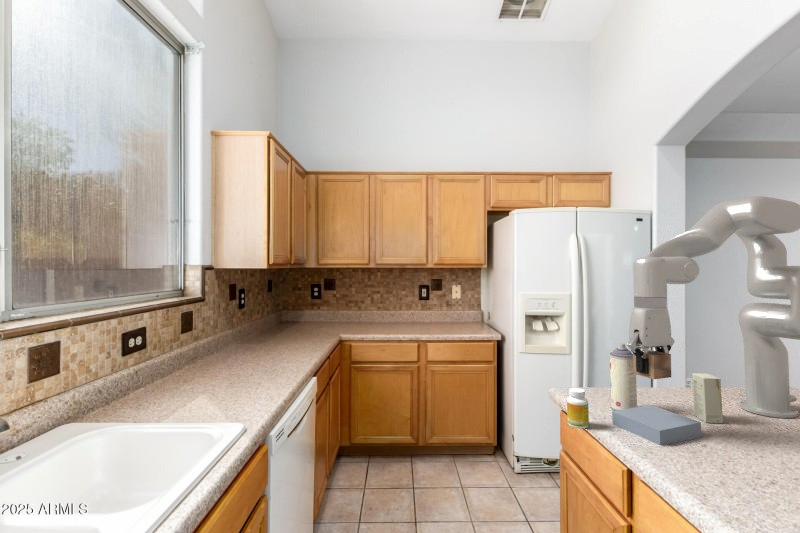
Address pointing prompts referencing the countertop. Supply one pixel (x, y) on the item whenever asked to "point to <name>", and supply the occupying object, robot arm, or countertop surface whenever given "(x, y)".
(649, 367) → the walnut cube
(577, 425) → the supplement bottle
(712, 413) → the skincare box
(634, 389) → the aerosol can
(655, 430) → the slate base block
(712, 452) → the countertop surface
